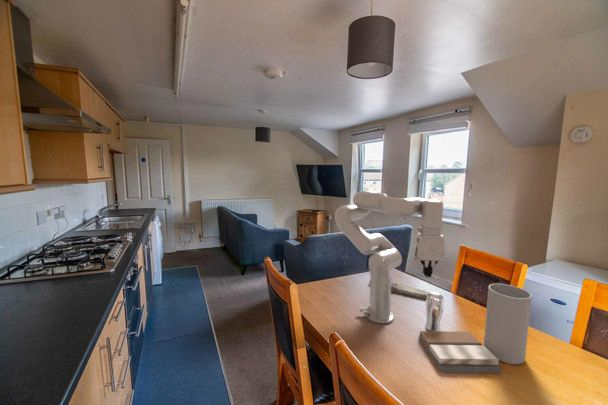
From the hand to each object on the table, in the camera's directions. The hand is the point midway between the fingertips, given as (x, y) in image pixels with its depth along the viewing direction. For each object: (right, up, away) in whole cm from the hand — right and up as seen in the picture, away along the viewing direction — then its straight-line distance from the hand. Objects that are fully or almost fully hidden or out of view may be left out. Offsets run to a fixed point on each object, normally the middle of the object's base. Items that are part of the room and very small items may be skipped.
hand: (427, 275), depth 106 cm
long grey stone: (+5, -22, +47) cm, 52 cm away
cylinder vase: (+26, -28, -6) cm, 39 cm away
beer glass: (+7, -26, +10) cm, 29 cm away
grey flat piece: (+8, -28, -6) cm, 30 cm away
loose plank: (+8, -27, -11) cm, 30 cm away
